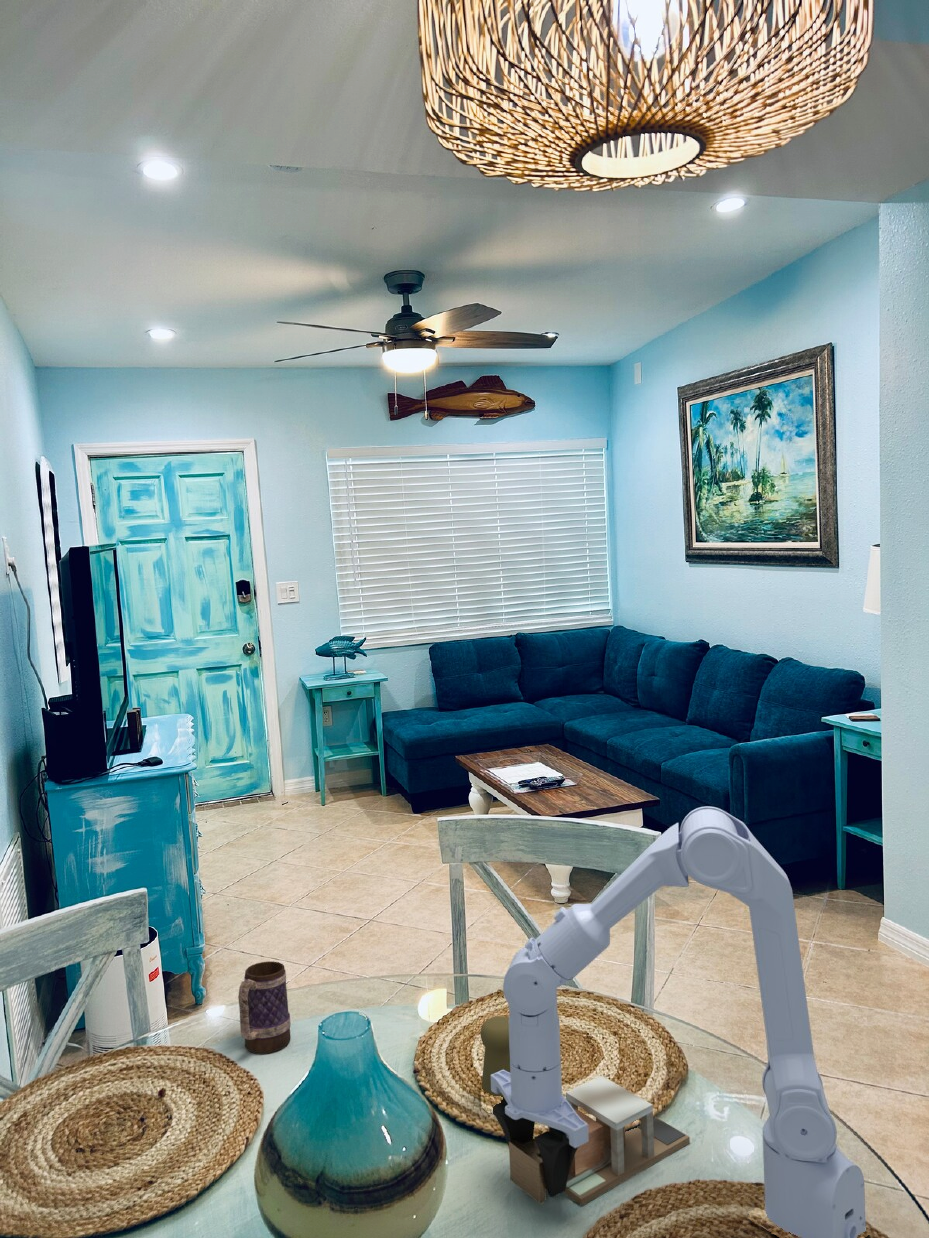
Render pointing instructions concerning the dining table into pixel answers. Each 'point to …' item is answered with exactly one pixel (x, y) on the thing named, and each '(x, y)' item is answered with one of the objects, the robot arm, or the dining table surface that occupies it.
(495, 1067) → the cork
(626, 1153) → the tunnel board
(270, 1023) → the mug
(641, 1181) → the dining table surface
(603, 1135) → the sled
